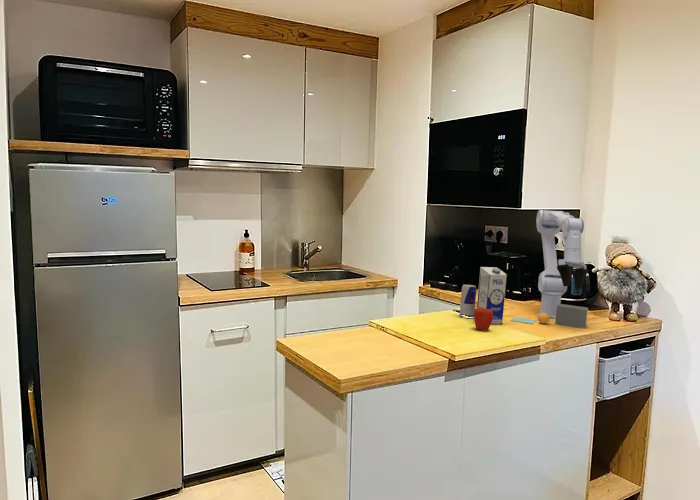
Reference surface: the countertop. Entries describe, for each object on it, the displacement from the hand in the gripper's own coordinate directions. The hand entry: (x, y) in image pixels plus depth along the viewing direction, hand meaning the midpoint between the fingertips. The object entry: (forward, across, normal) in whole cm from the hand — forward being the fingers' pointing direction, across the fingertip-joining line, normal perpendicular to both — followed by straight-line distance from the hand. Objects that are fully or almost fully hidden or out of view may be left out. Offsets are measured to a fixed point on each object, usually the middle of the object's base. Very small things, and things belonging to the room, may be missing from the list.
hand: (572, 287), depth 187 cm
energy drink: (+13, -22, +30) cm, 39 cm away
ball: (+11, -2, +11) cm, 16 cm away
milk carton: (+15, -20, +20) cm, 32 cm away
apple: (+18, -32, +13) cm, 39 cm away
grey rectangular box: (+13, +8, +6) cm, 16 cm away
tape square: (+12, -5, +17) cm, 22 cm away
